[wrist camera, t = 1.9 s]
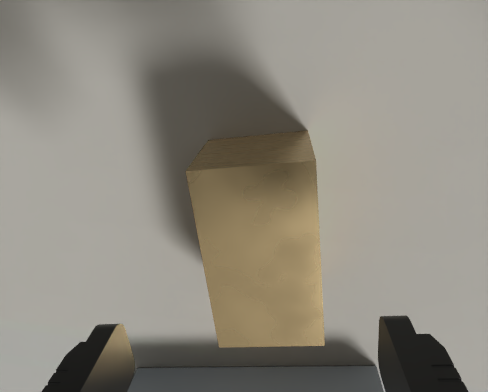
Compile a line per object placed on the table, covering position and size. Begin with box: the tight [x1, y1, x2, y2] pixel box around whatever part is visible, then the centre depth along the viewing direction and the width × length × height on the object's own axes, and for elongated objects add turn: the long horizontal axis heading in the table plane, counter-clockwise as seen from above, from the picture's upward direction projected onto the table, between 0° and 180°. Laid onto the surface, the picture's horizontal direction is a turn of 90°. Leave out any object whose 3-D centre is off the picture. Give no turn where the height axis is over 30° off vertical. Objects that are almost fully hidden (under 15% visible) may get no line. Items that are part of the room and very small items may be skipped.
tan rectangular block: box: [186, 131, 325, 348], centre depth 18 cm, size 5×9×5 cm, turn 7°
